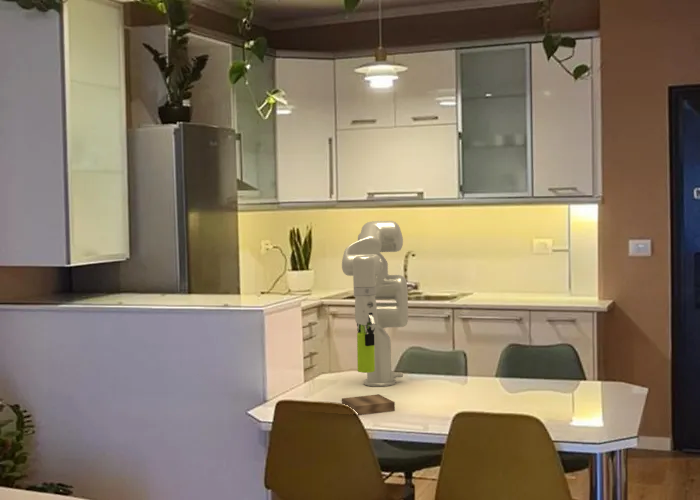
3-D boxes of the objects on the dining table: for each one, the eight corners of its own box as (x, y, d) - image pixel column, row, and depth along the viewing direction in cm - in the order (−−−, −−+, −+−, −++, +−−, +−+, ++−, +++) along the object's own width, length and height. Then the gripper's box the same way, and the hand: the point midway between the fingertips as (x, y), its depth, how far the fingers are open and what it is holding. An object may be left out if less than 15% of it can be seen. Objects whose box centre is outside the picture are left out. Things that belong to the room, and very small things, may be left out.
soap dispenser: (364, 374, 303) (363, 315, 302) (354, 370, 310) (353, 312, 308) (379, 372, 306) (378, 314, 304) (369, 368, 312) (368, 311, 311)
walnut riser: (379, 402, 318) (378, 394, 317) (394, 410, 305) (394, 402, 304) (341, 406, 313) (341, 398, 313) (356, 415, 300) (356, 406, 299)
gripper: (384, 293, 300) (386, 346, 301) (365, 289, 316) (367, 340, 317) (363, 294, 297) (365, 348, 298) (345, 290, 313) (347, 341, 314)
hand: (366, 343), depth 307 cm, fingers closed on soap dispenser, 6 cm apart
